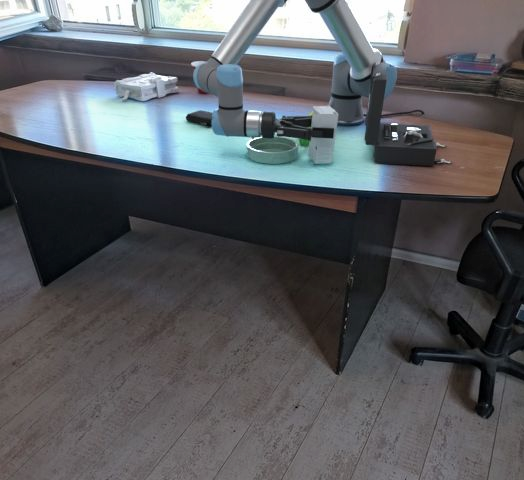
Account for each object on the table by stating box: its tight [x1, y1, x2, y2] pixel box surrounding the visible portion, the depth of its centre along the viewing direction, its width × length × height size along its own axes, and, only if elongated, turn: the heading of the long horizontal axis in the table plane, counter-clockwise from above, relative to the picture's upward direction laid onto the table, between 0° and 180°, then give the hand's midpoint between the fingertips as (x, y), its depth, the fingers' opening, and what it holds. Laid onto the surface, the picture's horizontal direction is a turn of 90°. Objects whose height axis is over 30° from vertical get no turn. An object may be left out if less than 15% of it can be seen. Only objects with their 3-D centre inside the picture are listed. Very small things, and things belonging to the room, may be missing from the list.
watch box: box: [364, 62, 451, 167], centre depth 153 cm, size 26×28×24 cm
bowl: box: [246, 135, 299, 165], centre depth 157 cm, size 17×17×4 cm
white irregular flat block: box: [113, 71, 179, 102], centre depth 217 cm, size 19×28×8 cm
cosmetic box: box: [307, 105, 338, 165], centre depth 148 cm, size 8×6×15 cm
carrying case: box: [185, 110, 213, 128], centre depth 185 cm, size 11×3×15 cm
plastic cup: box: [190, 60, 210, 95], centre depth 220 cm, size 11×11×12 cm
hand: (334, 128), depth 147 cm, fingers closed on cosmetic box, 9 cm apart
